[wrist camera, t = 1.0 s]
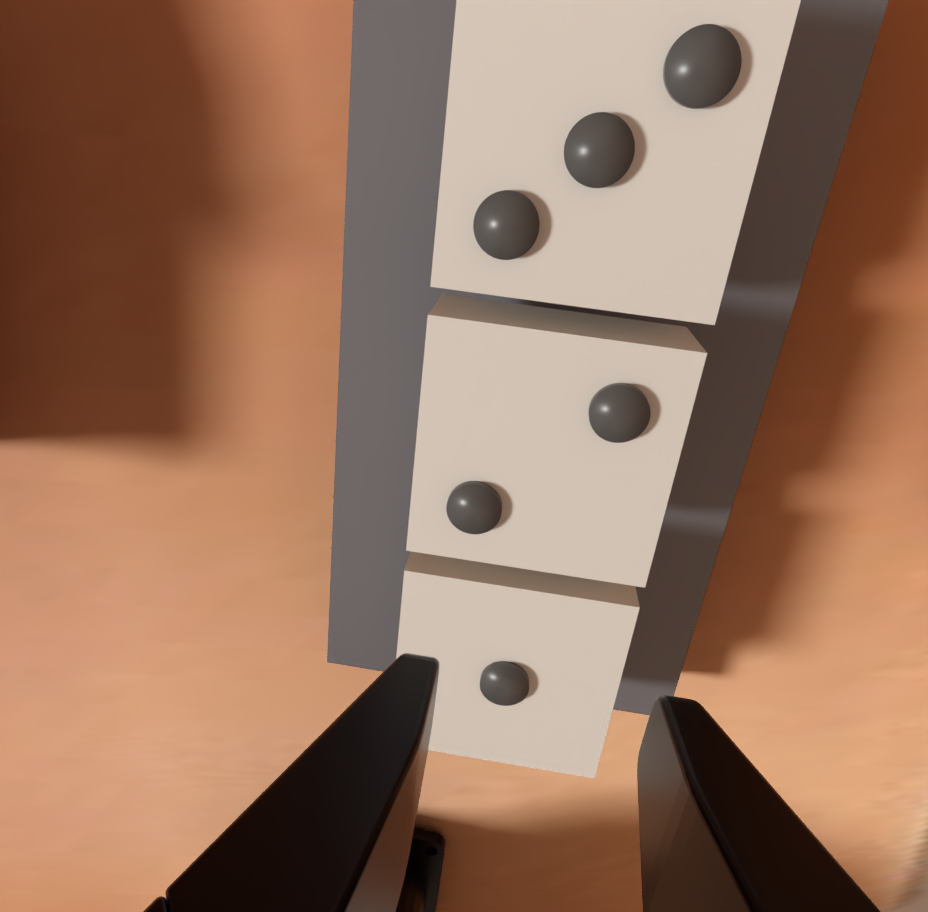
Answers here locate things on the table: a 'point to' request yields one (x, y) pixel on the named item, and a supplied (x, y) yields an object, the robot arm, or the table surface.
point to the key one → (518, 659)
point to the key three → (604, 148)
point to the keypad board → (411, 299)
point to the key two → (549, 437)
